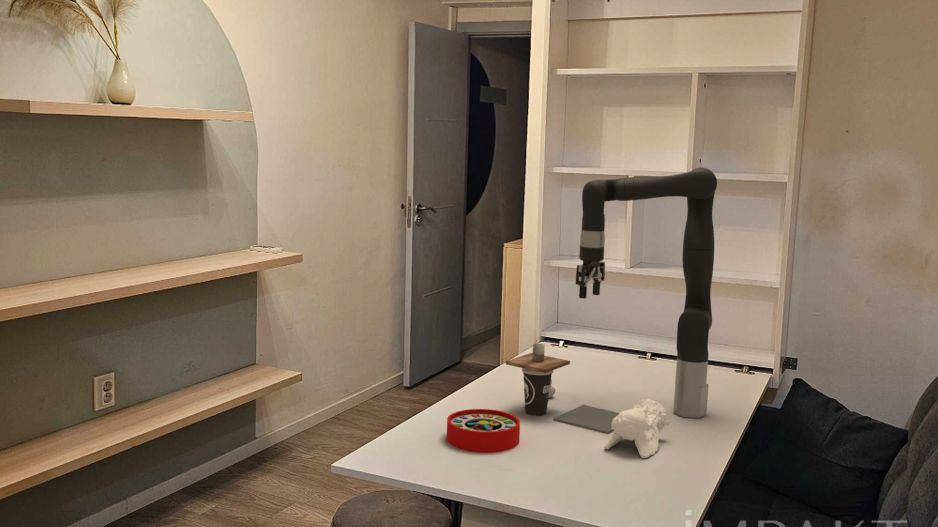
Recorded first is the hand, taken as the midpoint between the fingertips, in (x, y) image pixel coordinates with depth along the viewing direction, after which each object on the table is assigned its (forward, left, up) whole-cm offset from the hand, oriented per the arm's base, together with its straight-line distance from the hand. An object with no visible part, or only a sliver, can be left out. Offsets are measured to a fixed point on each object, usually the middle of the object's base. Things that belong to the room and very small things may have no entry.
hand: (589, 296), depth 271 cm
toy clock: (+4, +50, -35) cm, 61 cm away
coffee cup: (+6, +19, -34) cm, 40 cm away
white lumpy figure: (-30, +25, -34) cm, 52 cm away
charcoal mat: (-11, +13, -34) cm, 38 cm away
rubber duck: (+12, +3, -34) cm, 37 cm away
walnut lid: (+6, +19, -19) cm, 28 cm away
